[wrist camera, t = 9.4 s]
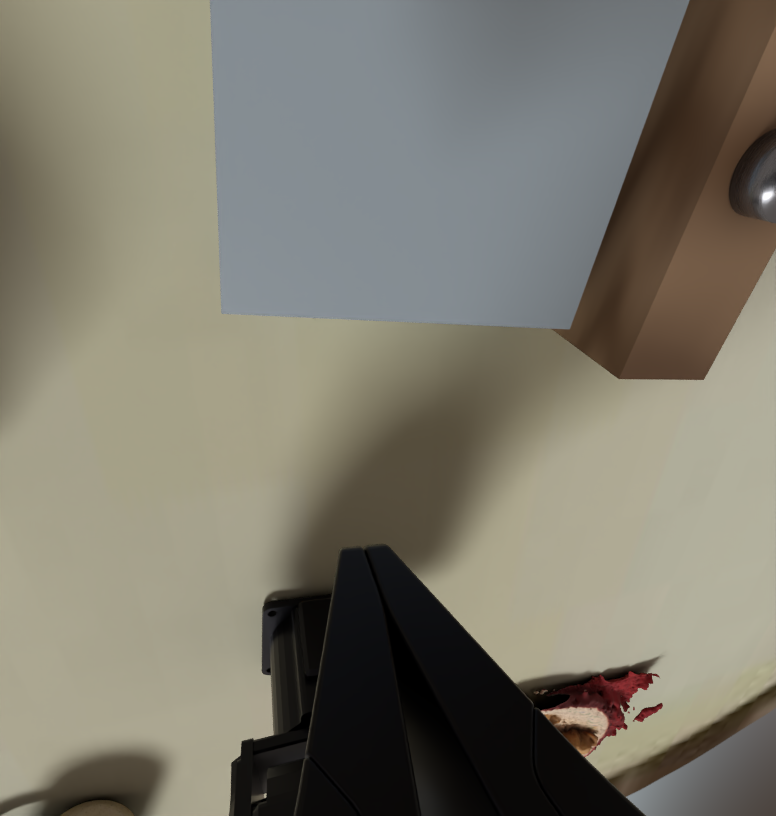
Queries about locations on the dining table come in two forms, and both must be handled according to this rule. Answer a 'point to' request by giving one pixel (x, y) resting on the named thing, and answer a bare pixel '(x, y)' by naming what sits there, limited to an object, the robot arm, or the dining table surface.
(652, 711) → the plate with food
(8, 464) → the dining table surface
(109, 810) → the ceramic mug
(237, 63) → the blue-grey square block
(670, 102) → the walnut bench dog
